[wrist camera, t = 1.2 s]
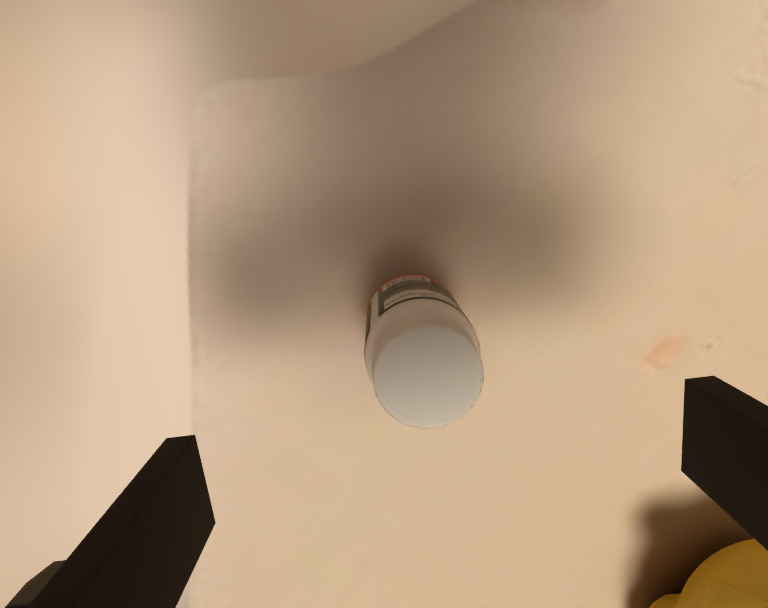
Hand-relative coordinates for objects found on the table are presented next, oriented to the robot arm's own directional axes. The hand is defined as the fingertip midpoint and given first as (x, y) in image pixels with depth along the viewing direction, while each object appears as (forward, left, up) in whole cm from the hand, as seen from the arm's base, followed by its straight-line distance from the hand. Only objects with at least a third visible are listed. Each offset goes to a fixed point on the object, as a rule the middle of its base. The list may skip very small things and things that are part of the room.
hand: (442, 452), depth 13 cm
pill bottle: (0, 0, -13) cm, 13 cm away
